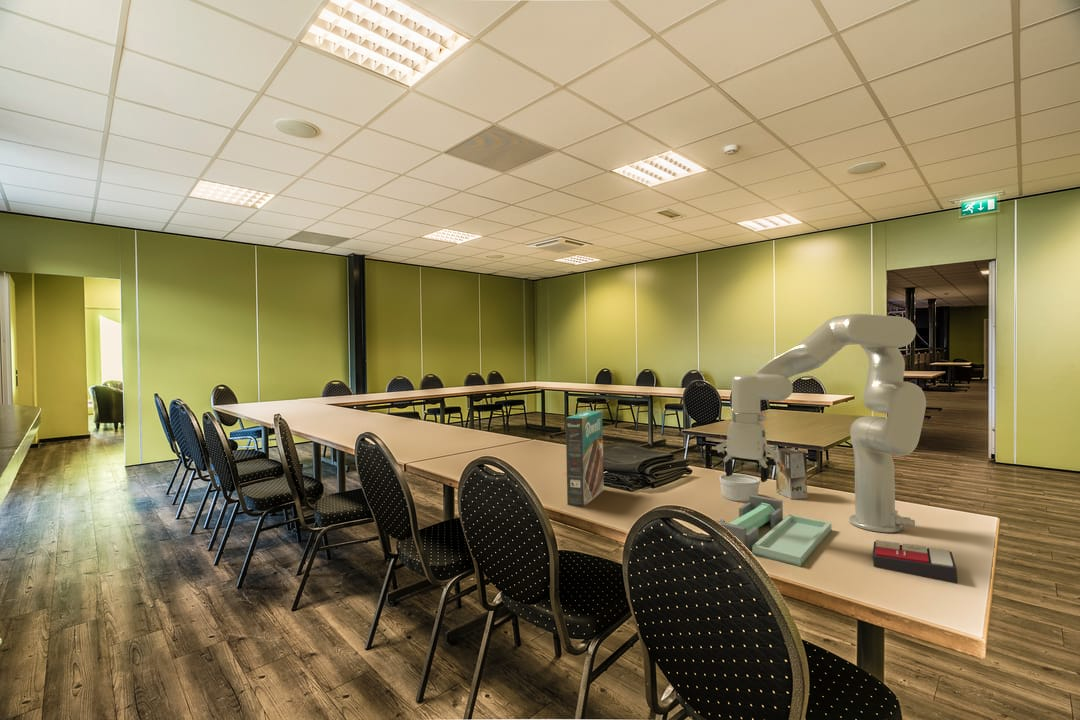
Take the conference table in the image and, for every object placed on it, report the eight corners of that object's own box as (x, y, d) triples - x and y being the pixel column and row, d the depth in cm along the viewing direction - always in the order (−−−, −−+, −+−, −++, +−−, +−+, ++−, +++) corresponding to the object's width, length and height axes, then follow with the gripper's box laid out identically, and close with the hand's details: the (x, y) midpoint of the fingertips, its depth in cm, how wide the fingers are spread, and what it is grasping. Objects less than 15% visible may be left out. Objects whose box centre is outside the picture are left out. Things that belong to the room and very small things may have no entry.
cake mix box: (583, 506, 161) (582, 418, 161) (567, 504, 164) (565, 417, 163) (603, 489, 181) (602, 411, 181) (588, 488, 183) (587, 410, 183)
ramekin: (764, 496, 169) (764, 476, 169) (753, 505, 159) (753, 485, 159) (727, 490, 177) (726, 471, 177) (713, 498, 167) (713, 479, 167)
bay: (784, 520, 144) (784, 500, 144) (745, 553, 121) (745, 529, 121) (750, 513, 151) (750, 494, 151) (707, 543, 128) (707, 521, 127)
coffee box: (808, 498, 165) (807, 452, 165) (791, 499, 164) (790, 453, 164) (791, 491, 174) (790, 447, 174) (775, 492, 173) (774, 448, 173)
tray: (831, 530, 135) (831, 522, 135) (800, 566, 112) (800, 557, 112) (789, 521, 143) (789, 514, 143) (752, 554, 120) (752, 545, 120)
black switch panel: (873, 537, 121) (951, 548, 112) (875, 555, 121) (952, 566, 112) (872, 552, 112) (956, 564, 103) (873, 571, 112) (958, 584, 103)
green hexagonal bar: (732, 523, 126) (771, 500, 143) (713, 526, 130) (753, 504, 147) (741, 545, 124) (779, 520, 141) (721, 548, 129) (761, 523, 145)
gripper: (782, 419, 132) (783, 480, 132) (721, 414, 144) (721, 471, 144) (774, 422, 127) (774, 486, 127) (710, 417, 139) (711, 475, 139)
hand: (746, 478), depth 136 cm, fingers open, 9 cm apart
